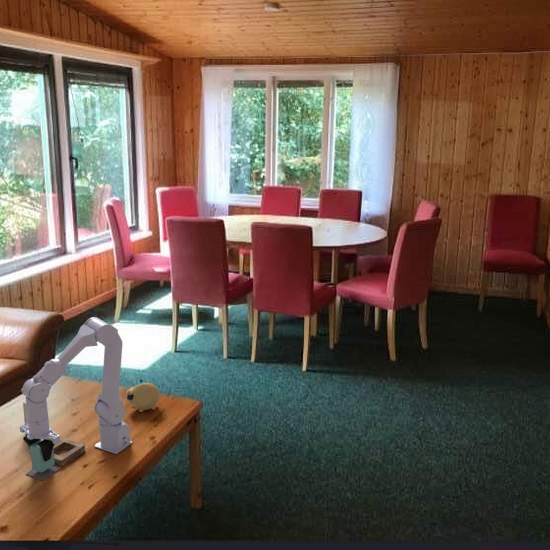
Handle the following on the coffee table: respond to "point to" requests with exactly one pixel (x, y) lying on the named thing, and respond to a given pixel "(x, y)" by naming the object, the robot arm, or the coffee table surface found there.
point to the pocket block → (73, 453)
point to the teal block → (40, 458)
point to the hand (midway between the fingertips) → (42, 457)
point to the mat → (43, 473)
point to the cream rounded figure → (143, 396)
